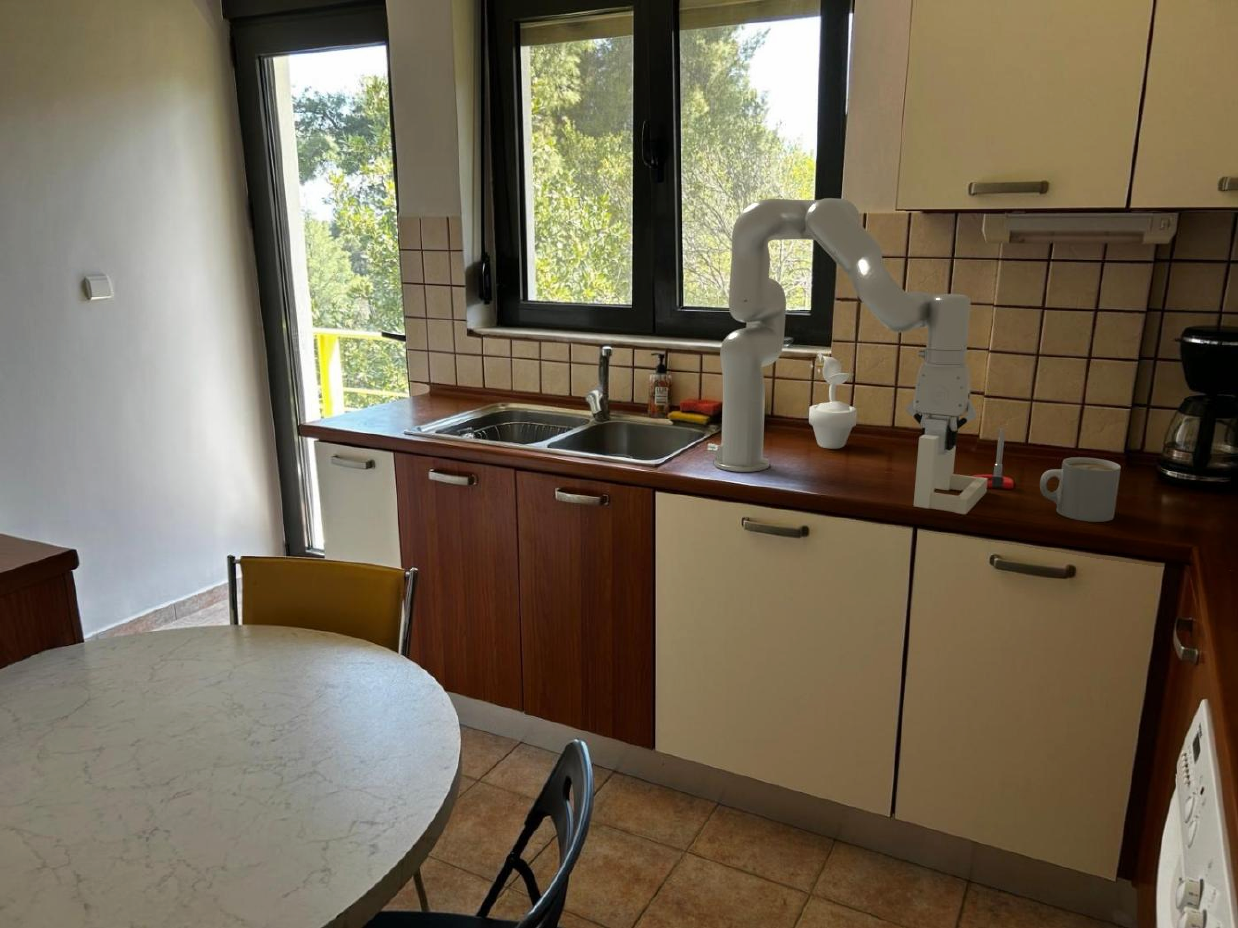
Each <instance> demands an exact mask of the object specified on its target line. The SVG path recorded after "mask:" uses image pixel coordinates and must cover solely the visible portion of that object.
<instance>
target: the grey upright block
mask: <svg viewBox="0 0 1238 928" xmlns="http://www.w3.org/2000/svg"><path fill="white" fill-rule="evenodd" d="M950 427H951V425H950V416H939V415H931V416H930V417H928V418H926V425H925V435H930V436H939V442H938V454H937V455H945V454H946V453H947V452H948V451H950V450H947V439H948V431H949V430H950Z"/></svg>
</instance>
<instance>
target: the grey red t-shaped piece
mask: <svg viewBox="0 0 1238 928" xmlns="http://www.w3.org/2000/svg"><path fill="white" fill-rule="evenodd" d="M1004 433H1005V428H999V436H998V438H997V449H996V458H995V464H994V465H993V466H994V467H993V474H974V475H972V476H971V477H982V478H988V481H987V489H988V488H989V489H997V490H998V489H1006V490H1007V489H1008V490H1009V489H1010V490H1013V489H1014V486H1015V485H1014V481H1013V479H1012V478H1010V477H1007V476H1006V477H1005V476H1003V467H1004V466H1003V464H1002V463H1003V453H1004V446H1005V445H1004V443H1005V438H1004V435H1005V434H1004Z"/></svg>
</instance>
